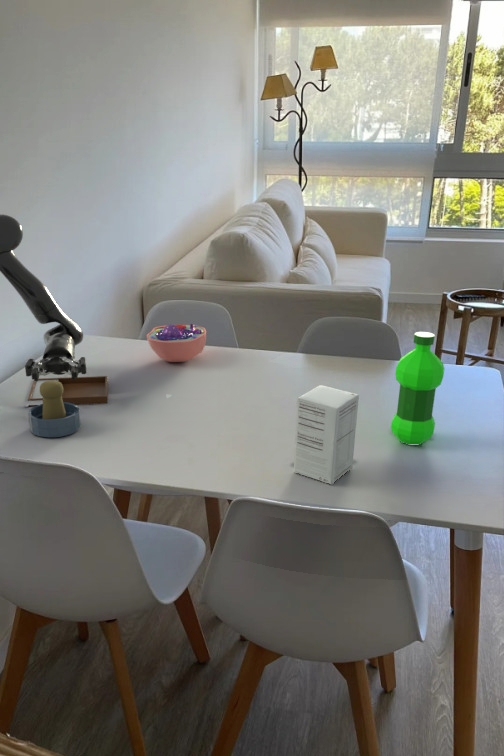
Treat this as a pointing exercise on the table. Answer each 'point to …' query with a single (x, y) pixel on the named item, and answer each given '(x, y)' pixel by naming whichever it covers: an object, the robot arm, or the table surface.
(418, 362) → the plastic bottle
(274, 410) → the table surface
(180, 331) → the cell model
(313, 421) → the supplement box
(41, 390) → the cork
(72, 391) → the tray
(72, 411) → the bowl
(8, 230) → the robot arm
